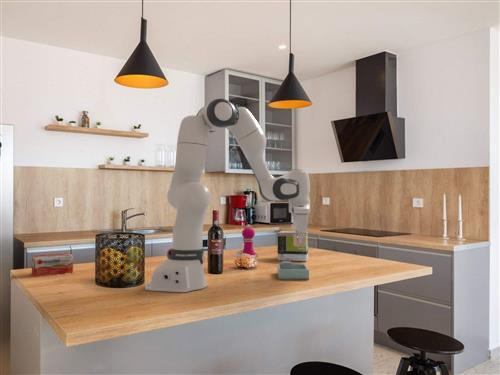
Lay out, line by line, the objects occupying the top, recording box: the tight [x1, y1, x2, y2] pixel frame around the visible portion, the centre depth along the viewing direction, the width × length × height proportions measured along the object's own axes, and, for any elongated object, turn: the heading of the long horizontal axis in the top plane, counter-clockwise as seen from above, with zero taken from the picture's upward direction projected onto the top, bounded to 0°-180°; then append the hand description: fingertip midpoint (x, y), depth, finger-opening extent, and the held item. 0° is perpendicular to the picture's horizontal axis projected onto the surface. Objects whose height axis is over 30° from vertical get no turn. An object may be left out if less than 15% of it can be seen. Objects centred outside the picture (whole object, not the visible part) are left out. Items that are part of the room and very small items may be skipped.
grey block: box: [281, 260, 293, 269], centre depth 174 cm, size 4×4×5 cm
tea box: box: [276, 230, 309, 262], centre depth 214 cm, size 15×10×15 cm
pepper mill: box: [241, 224, 256, 255], centre depth 192 cm, size 7×7×20 cm
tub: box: [277, 263, 310, 281], centre depth 172 cm, size 12×13×4 cm
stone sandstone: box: [294, 233, 306, 247], centre depth 170 cm, size 4×4×5 cm
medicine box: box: [31, 252, 74, 278], centre depth 175 cm, size 15×8×8 cm, turn 125°
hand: (299, 241), depth 170 cm, fingers closed on stone sandstone, 5 cm apart
